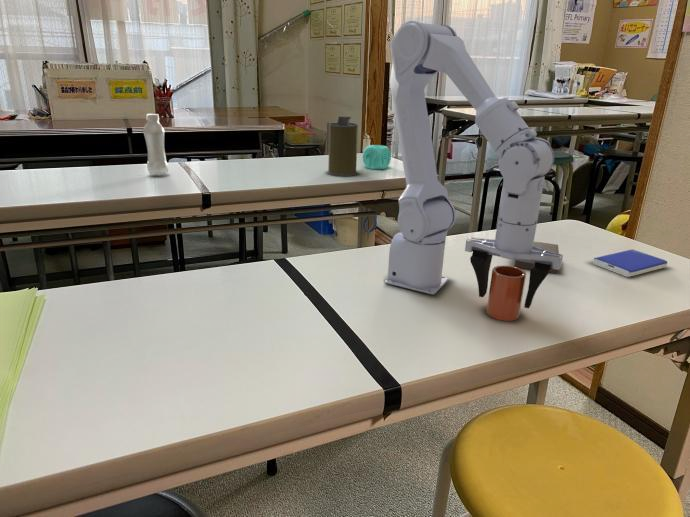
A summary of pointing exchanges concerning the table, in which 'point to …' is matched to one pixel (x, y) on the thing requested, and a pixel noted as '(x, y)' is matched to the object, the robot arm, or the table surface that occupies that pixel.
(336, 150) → the canister
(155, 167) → the plastic bottle
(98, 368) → the table surface
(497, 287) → the cup
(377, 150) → the decorative dice
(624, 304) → the table surface
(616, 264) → the hard drive
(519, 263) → the block
